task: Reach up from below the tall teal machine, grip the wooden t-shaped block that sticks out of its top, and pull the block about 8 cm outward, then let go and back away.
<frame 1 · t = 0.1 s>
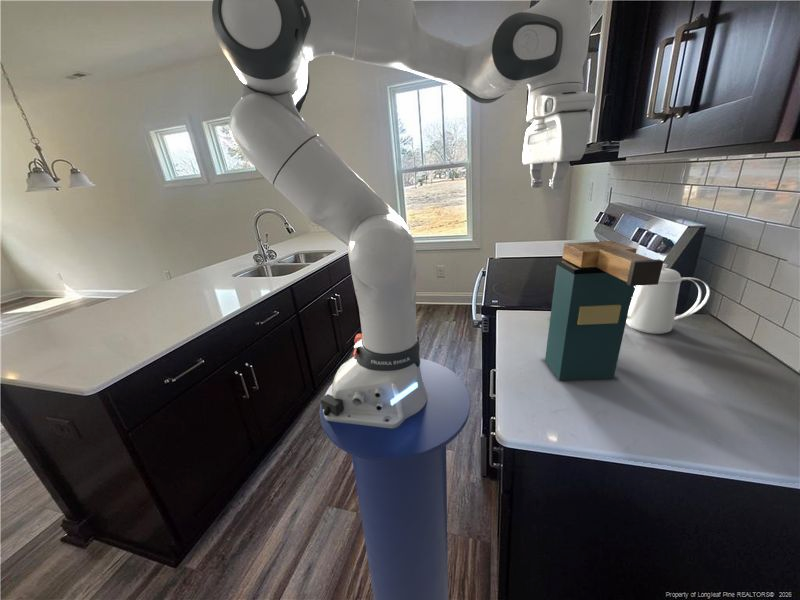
hand: (545, 188, 63), 41 cm above the countertop, tool pointing down, fingers open, 8 cm apart
coffeepot: (645, 327, 92), on the countertop
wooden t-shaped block: (612, 259, 60), point 28 cm above the countertop, slide at 0.0 cm
machine: (577, 369, 75), on the countertop
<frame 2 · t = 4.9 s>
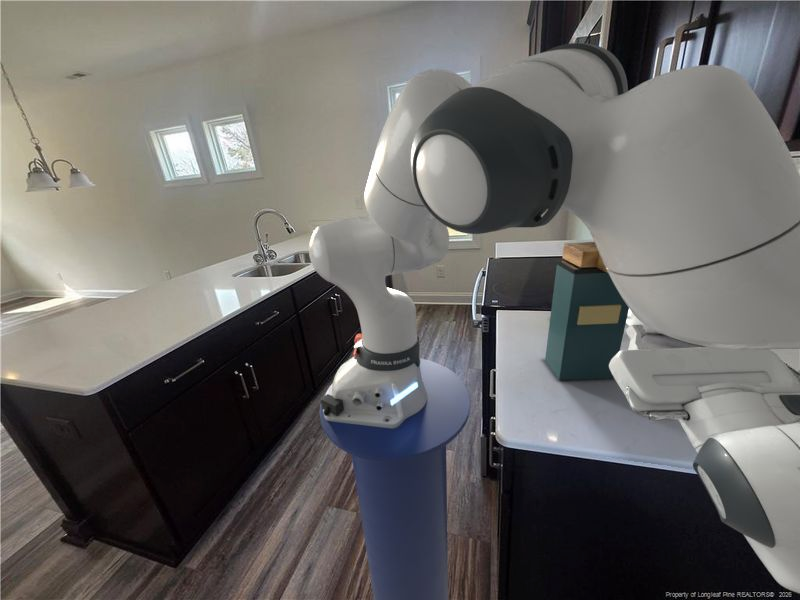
hand: (665, 325, 48), 22 cm above the countertop, tool pointing upward, fingers open, 8 cm apart
nothing on the countertop moved.
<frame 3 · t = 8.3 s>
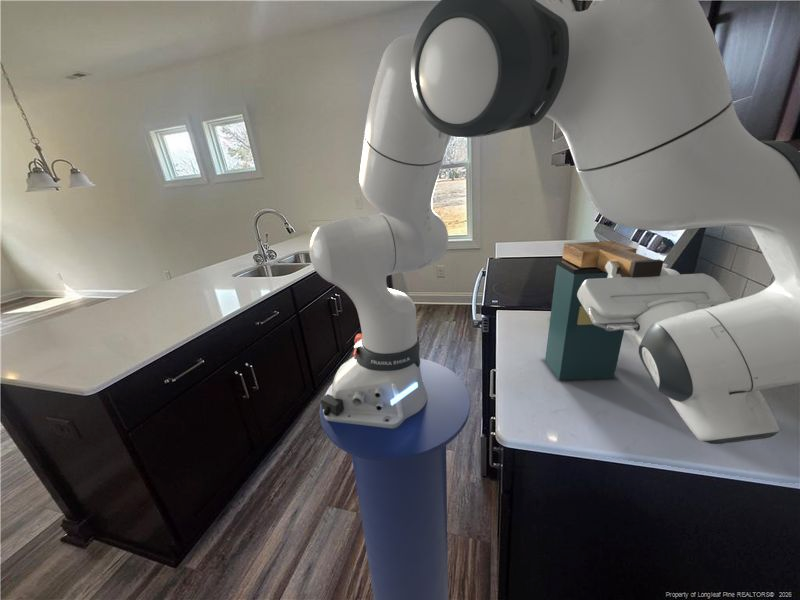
hand: (626, 262, 56), 28 cm above the countertop, tool pointing upward, fingers closed on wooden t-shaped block, 4 cm apart
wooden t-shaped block: (612, 259, 60), point 28 cm above the countertop, slide at 0.0 cm, touching gripper
everything else where it was.
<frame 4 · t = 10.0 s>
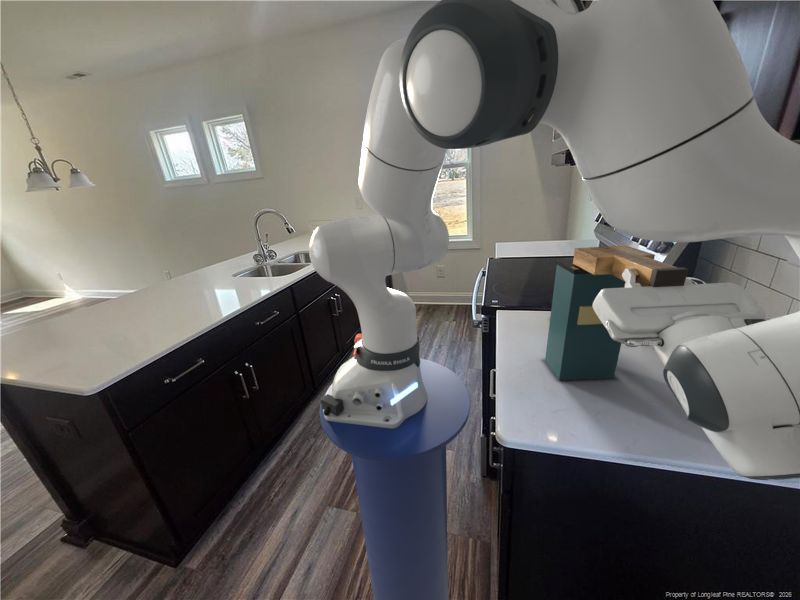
hand: (645, 270, 51), 28 cm above the countertop, tool pointing upward, fingers closed on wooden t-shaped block, 4 cm apart
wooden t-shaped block: (628, 266, 55), point 28 cm above the countertop, slide at 4.8 cm, touching gripper
everything else where it was.
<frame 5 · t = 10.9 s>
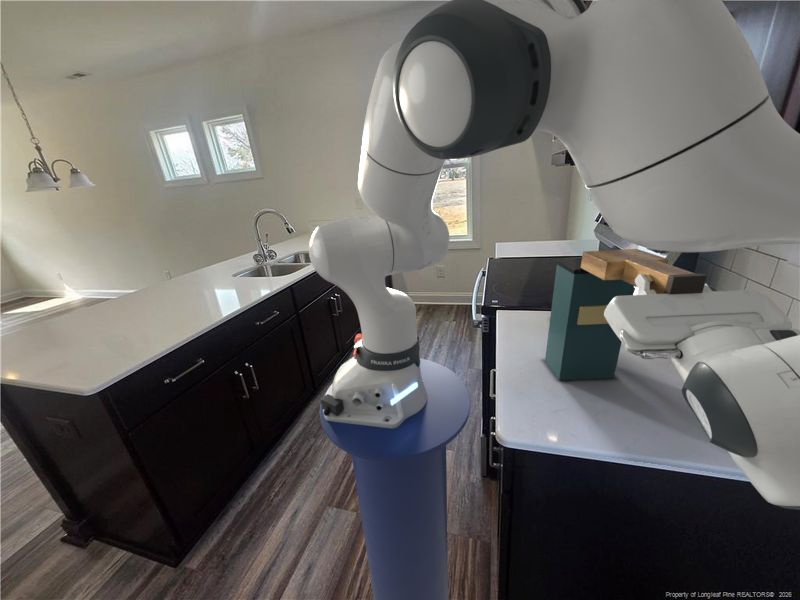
hand: (659, 275, 48), 28 cm above the countertop, tool pointing upward, fingers closed on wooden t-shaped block, 4 cm apart
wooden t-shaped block: (641, 271, 52), point 28 cm above the countertop, slide at 7.9 cm, touching gripper
everything else where it was.
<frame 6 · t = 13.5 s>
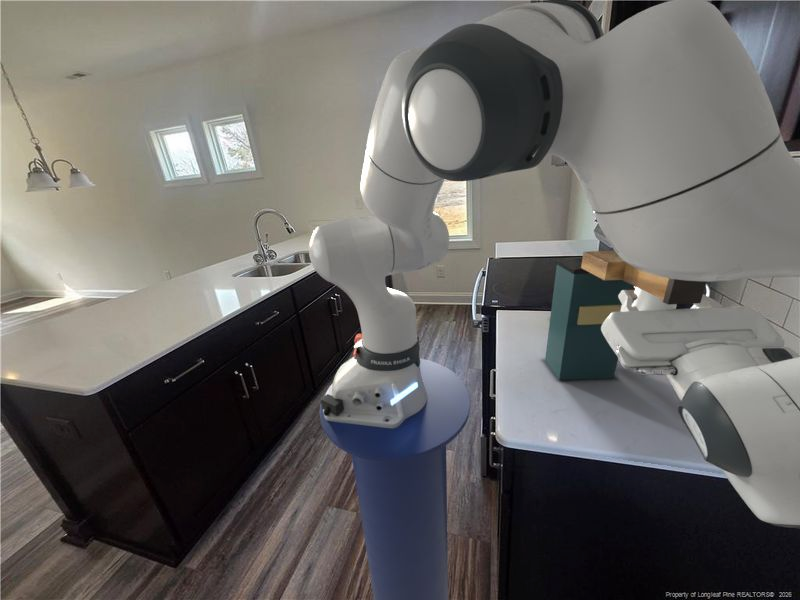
hand: (656, 290, 49), 26 cm above the countertop, tool pointing upward, fingers open, 8 cm apart
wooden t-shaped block: (641, 271, 52), point 28 cm above the countertop, slide at 8.1 cm
everything else where it was.
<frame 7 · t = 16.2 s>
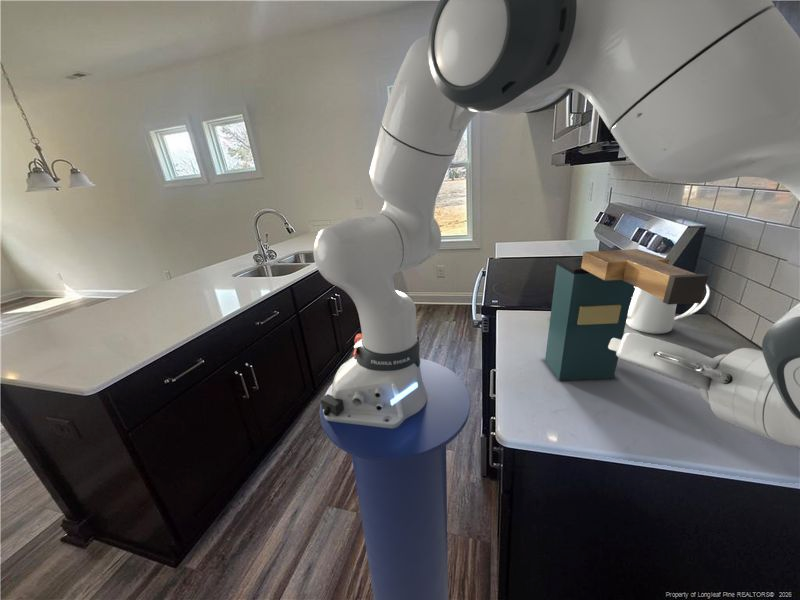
hand: (634, 353, 48), 18 cm above the countertop, tool horizontal, fingers open, 8 cm apart
nothing on the countertop moved.
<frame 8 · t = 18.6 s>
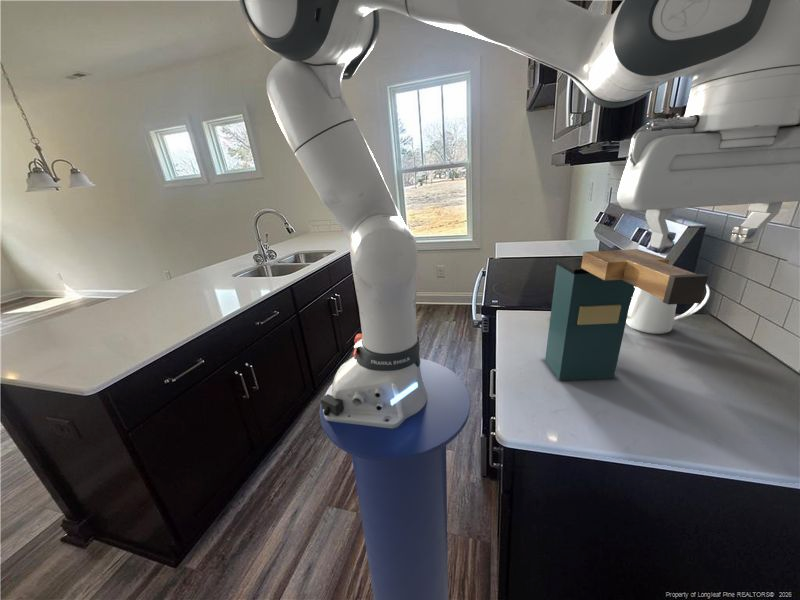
hand: (701, 244, 38), 35 cm above the countertop, tool pointing down, fingers open, 8 cm apart
nothing on the countertop moved.
at the end: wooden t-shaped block slide at 8.1 cm; the gripper is holding nothing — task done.
